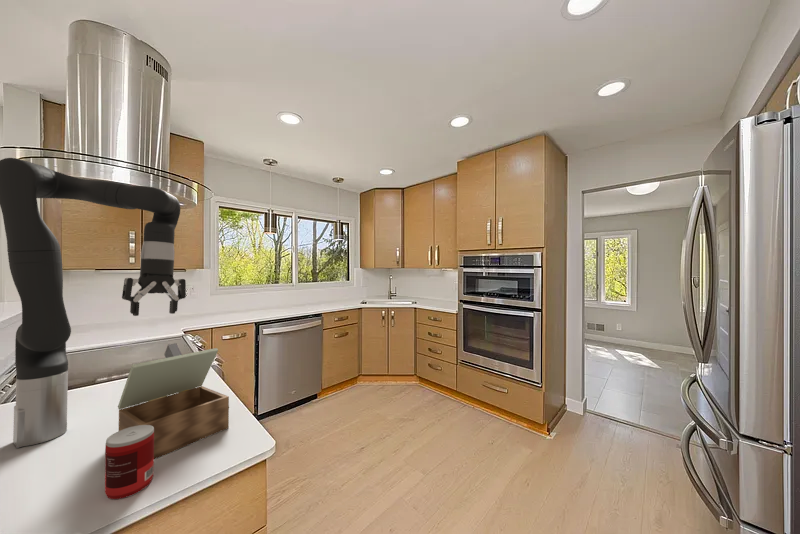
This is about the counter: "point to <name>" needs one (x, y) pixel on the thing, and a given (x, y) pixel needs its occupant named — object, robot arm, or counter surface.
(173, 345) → the lid
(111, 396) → the counter surface
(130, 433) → the canned food
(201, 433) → the storage box
